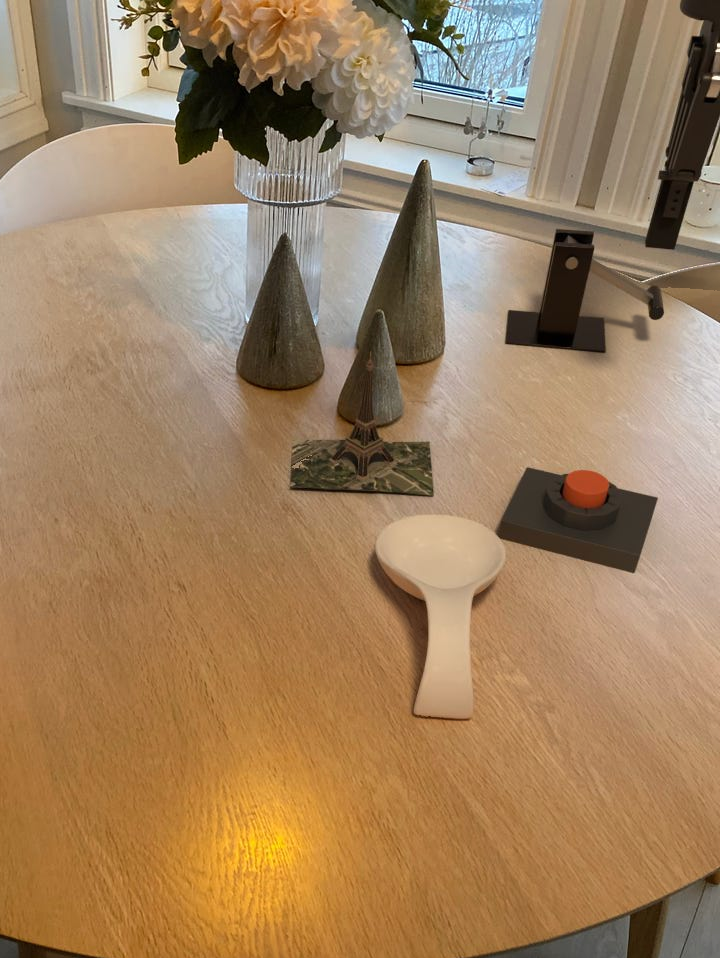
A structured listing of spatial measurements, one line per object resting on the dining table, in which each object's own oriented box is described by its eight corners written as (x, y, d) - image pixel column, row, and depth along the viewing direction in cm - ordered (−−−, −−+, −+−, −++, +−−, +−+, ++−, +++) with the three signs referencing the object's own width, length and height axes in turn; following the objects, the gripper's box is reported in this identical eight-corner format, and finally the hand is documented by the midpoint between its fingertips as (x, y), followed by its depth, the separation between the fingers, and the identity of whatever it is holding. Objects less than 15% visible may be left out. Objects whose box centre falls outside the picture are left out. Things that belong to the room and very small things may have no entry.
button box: (652, 515, 99) (663, 481, 96) (634, 574, 92) (645, 540, 90) (523, 484, 103) (529, 451, 100) (497, 538, 97) (503, 505, 94)
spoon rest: (371, 538, 97) (377, 476, 92) (493, 543, 96) (506, 481, 91) (372, 718, 80) (379, 655, 75) (520, 726, 79) (537, 663, 74)
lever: (652, 303, 123) (666, 287, 121) (655, 325, 119) (669, 308, 117) (555, 246, 121) (568, 228, 119) (555, 266, 117) (568, 248, 115)
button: (608, 490, 96) (613, 475, 95) (600, 513, 93) (604, 497, 92) (567, 480, 97) (571, 465, 96) (557, 502, 95) (561, 487, 93)
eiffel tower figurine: (287, 493, 103) (289, 376, 94) (293, 440, 110) (295, 327, 101) (433, 498, 102) (449, 381, 92) (429, 444, 109) (443, 330, 100)
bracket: (601, 327, 128) (626, 227, 119) (603, 360, 122) (629, 257, 113) (506, 319, 130) (524, 220, 121) (503, 351, 124) (521, 249, 115)
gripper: (687, -56, 87) (619, 217, 103) (696, -26, 78) (620, 269, 94) (778, -54, 85) (695, 223, 102) (799, -22, 76) (704, 276, 93)
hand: (659, 245), depth 98 cm, fingers closed
